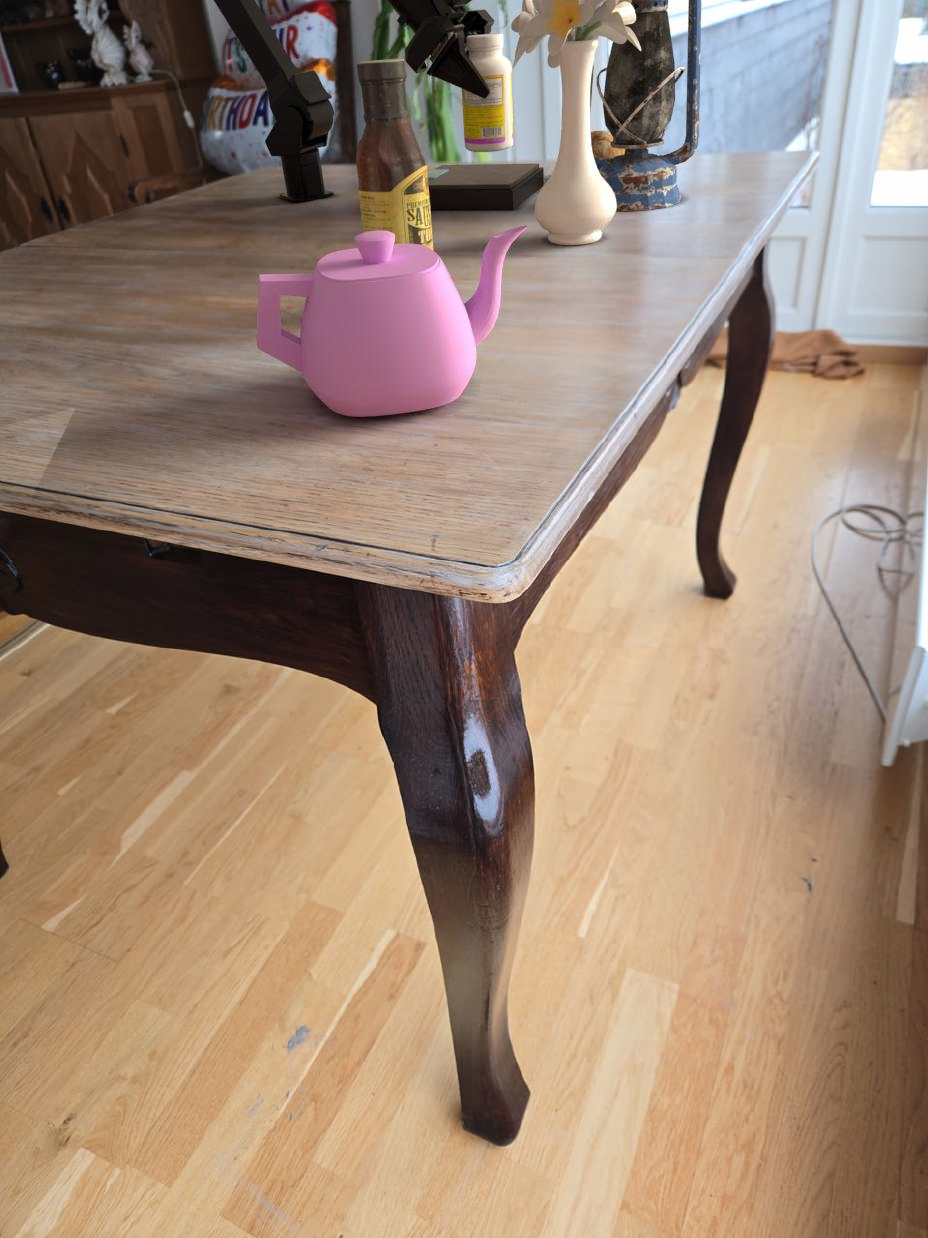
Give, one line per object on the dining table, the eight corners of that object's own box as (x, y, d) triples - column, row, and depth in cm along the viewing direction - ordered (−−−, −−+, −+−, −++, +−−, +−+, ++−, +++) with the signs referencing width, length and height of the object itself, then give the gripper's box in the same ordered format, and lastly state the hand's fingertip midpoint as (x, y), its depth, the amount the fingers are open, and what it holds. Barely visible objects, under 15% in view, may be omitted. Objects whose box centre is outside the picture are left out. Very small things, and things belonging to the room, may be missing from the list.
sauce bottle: (429, 318, 79) (406, 61, 67) (364, 318, 80) (330, 65, 68) (444, 296, 84) (426, 54, 72) (383, 297, 85) (355, 59, 74)
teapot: (551, 404, 61) (550, 238, 55) (268, 441, 59) (232, 273, 53) (510, 344, 72) (505, 198, 65) (269, 374, 70) (239, 227, 63)
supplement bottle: (484, 143, 121) (480, 33, 113) (523, 145, 117) (521, 32, 110) (454, 151, 117) (448, 37, 109) (493, 154, 113) (489, 36, 105)
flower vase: (605, 216, 107) (613, -36, 92) (647, 251, 92) (664, -41, 78) (502, 225, 107) (493, -26, 92) (528, 263, 92) (522, -30, 77)
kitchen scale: (401, 209, 118) (399, 184, 116) (441, 186, 130) (439, 163, 128) (513, 209, 114) (512, 183, 112) (543, 185, 126) (543, 161, 124)
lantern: (685, 187, 118) (708, -97, 100) (701, 206, 108) (729, -105, 90) (572, 194, 119) (574, -85, 101) (578, 214, 109) (581, -92, 91)
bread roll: (620, 210, 125) (647, 152, 121) (556, 181, 123) (581, 121, 118) (611, 196, 133) (636, 142, 129) (551, 169, 131) (574, 112, 126)
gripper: (420, -70, 97) (515, 43, 100) (476, -68, 111) (558, 32, 114) (366, 18, 104) (456, 121, 108) (425, 10, 118) (503, 102, 121)
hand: (496, 91), depth 113 cm, fingers closed on supplement bottle, 6 cm apart
